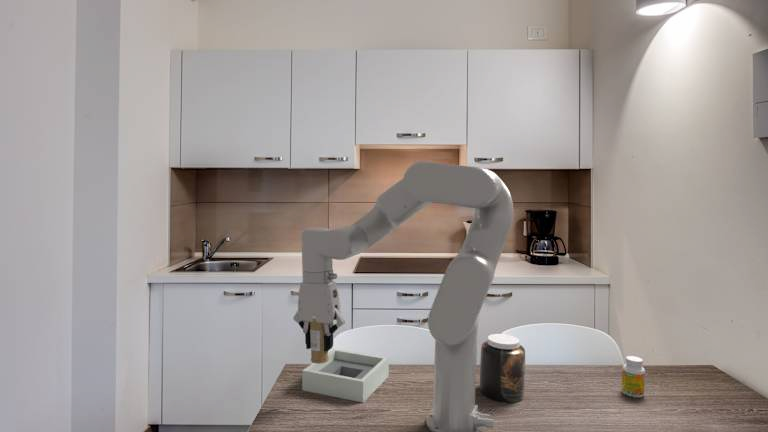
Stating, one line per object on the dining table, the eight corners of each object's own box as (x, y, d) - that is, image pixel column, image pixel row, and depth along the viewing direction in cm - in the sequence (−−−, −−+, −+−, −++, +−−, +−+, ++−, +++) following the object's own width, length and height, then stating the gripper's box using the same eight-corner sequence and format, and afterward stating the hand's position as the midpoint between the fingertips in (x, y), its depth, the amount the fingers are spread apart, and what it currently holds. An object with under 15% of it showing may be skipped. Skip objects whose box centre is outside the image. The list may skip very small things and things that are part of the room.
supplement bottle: (621, 395, 127) (622, 360, 126) (621, 387, 132) (623, 353, 131) (643, 399, 124) (645, 363, 124) (643, 391, 129) (645, 357, 129)
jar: (474, 397, 124) (476, 341, 123) (484, 380, 135) (486, 329, 134) (520, 406, 120) (522, 349, 118) (527, 388, 130) (529, 335, 129)
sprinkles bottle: (331, 361, 119) (330, 309, 118) (315, 365, 116) (313, 312, 115) (323, 356, 123) (322, 305, 122) (307, 360, 120) (306, 308, 119)
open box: (388, 376, 137) (388, 357, 137) (363, 402, 121) (363, 381, 120) (333, 366, 144) (333, 348, 143) (302, 390, 127) (302, 370, 127)
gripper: (354, 276, 118) (355, 347, 120) (296, 272, 125) (298, 340, 126) (341, 282, 111) (342, 357, 113) (280, 277, 118) (282, 349, 119)
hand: (319, 347), depth 119 cm, fingers closed on sprinkles bottle, 4 cm apart
